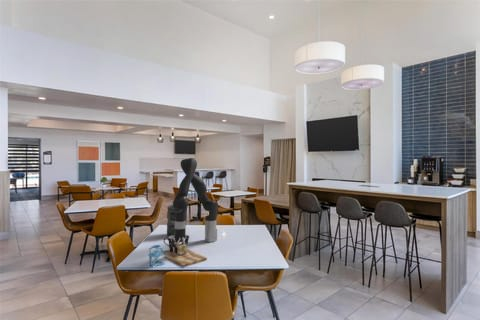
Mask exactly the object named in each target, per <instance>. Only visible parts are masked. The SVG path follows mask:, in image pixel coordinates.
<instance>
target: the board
mask: <svg viewBox="0 0 480 320" xmlns="http://www.w3.org/2000/svg"><path fill="white" fill-rule="evenodd" d="M163 255H164V257H165V258H166V259H168V260H169V259H170V260H169V261H170V262H173V263H175V264H176V265H179V266H180V267H182V268H185V267H188V266H192V265H195V264H199V263H202V262H205V261H208V257H206V256H204V255H202V254H200V253H197V252H195V251H194V250H190V249H188V248H187V254H186V255H182V256H179V255H177V254H175V253H173V252H169V253H166V254H163Z"/></svg>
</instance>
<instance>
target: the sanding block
mask: <svg viewBox="0 0 480 320" xmlns="http://www.w3.org/2000/svg"><path fill="white" fill-rule="evenodd" d="M187 247H188V245H187V244H186V245H184V244H182V242H180V243H179V244H178V246H177V253H175V252H174V247H173V252H172V253H175V254H177V255H179V256H182V255H186V254H187V249H188V248H187Z"/></svg>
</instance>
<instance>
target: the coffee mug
mask: <svg viewBox="0 0 480 320" xmlns="http://www.w3.org/2000/svg"><path fill="white" fill-rule="evenodd" d="M174 236H175V235H173V236H168V238H167V237H165V238H164V239H163V243H164V244H165V245H166V246H167V247H169V253H173V247H172V245H171V240H170V239H171V238H174ZM165 240H167V241H168V243H166V242H165ZM179 243H181V242H179ZM174 244H175V240H174Z"/></svg>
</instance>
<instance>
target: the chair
mask: <svg viewBox="0 0 480 320" xmlns="http://www.w3.org/2000/svg"><path fill="white" fill-rule="evenodd" d="M154 248H155V249H154ZM152 249H154V251H153V252H152ZM148 250H149V253H148V254H147V255H148V257H149V259H148V267H149V266H150V265H152V266H150V267H151V268H154V267H153V266H156V267H158V266H157V265H160V266H162V265H161V264H164V265H166V264H165V262H164V261H161V260H158V259H159V257H161V256H163V255H164V253H163V246H161V245H160V244H157V245H152V246H150V248H148ZM159 250H160V251H159ZM152 258H154V261H153V262H152ZM155 262H156V263H157V264H156V263H155ZM159 262H160V263H159Z"/></svg>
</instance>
